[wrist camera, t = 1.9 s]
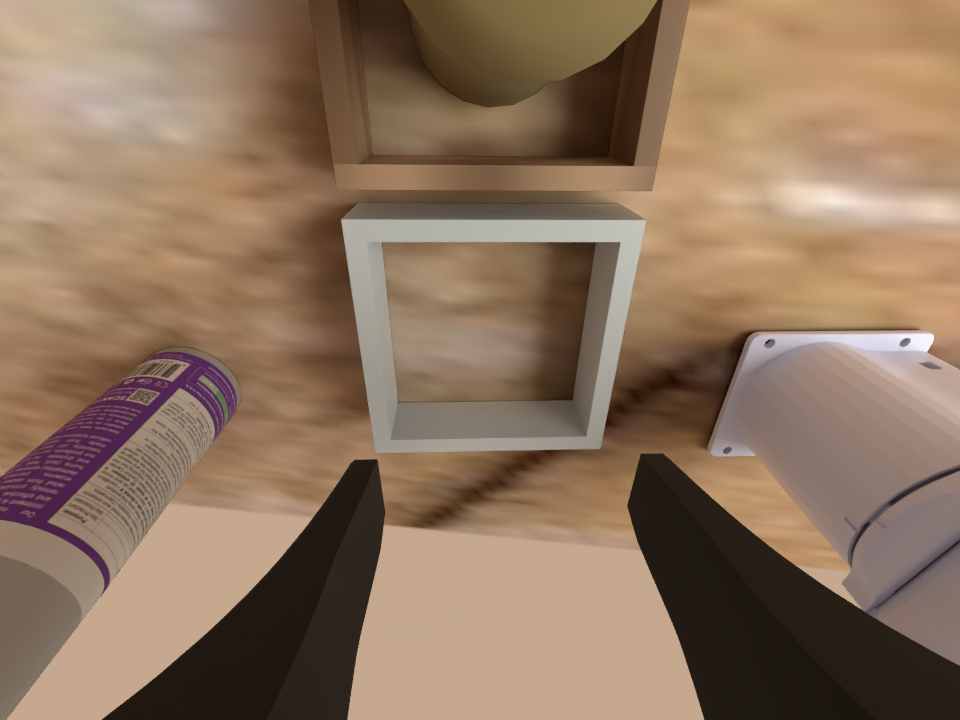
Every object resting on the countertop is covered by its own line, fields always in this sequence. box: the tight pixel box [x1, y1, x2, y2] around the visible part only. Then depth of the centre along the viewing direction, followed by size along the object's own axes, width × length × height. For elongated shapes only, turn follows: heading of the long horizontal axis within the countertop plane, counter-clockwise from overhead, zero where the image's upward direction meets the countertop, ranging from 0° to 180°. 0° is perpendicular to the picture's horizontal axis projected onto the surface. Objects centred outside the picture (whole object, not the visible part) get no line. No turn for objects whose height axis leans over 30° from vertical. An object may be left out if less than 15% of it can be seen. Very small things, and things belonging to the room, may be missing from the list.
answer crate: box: [341, 203, 646, 453], centre depth 20 cm, size 11×11×3 cm
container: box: [0, 347, 241, 720], centre depth 16 cm, size 5×5×15 cm
